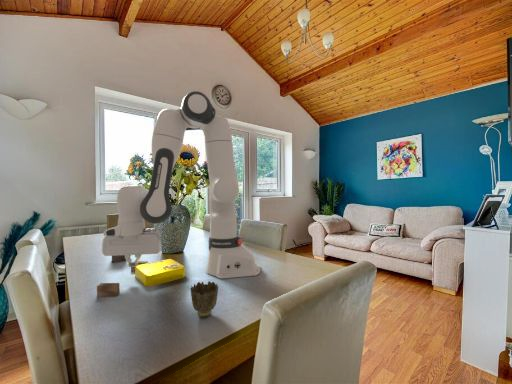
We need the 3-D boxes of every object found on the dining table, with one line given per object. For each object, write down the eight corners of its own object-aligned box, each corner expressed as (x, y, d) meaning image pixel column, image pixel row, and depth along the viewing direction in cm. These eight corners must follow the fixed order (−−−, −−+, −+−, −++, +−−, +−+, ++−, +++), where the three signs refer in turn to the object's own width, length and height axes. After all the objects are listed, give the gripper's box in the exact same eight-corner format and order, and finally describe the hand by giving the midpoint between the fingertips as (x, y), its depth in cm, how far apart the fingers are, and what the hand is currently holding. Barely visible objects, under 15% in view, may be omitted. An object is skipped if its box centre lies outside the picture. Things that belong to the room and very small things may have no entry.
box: (112, 262, 111) (111, 236, 110) (111, 260, 114) (111, 234, 114) (127, 260, 114) (126, 235, 114) (126, 258, 118) (125, 233, 117)
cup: (219, 308, 70) (219, 280, 70) (216, 322, 63) (216, 292, 63) (193, 308, 70) (193, 281, 70) (187, 323, 63) (187, 292, 62)
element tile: (171, 268, 105) (171, 257, 105) (186, 278, 94) (186, 265, 94) (133, 276, 95) (133, 264, 95) (146, 288, 84) (146, 275, 84)
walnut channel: (147, 269, 103) (147, 261, 102) (116, 296, 78) (116, 285, 78) (133, 269, 102) (133, 261, 102) (96, 296, 77) (96, 285, 77)
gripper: (163, 226, 93) (164, 262, 94) (108, 228, 92) (110, 264, 93) (157, 229, 87) (159, 268, 87) (98, 231, 86) (100, 270, 86)
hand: (133, 266), depth 90 cm, fingers closed
